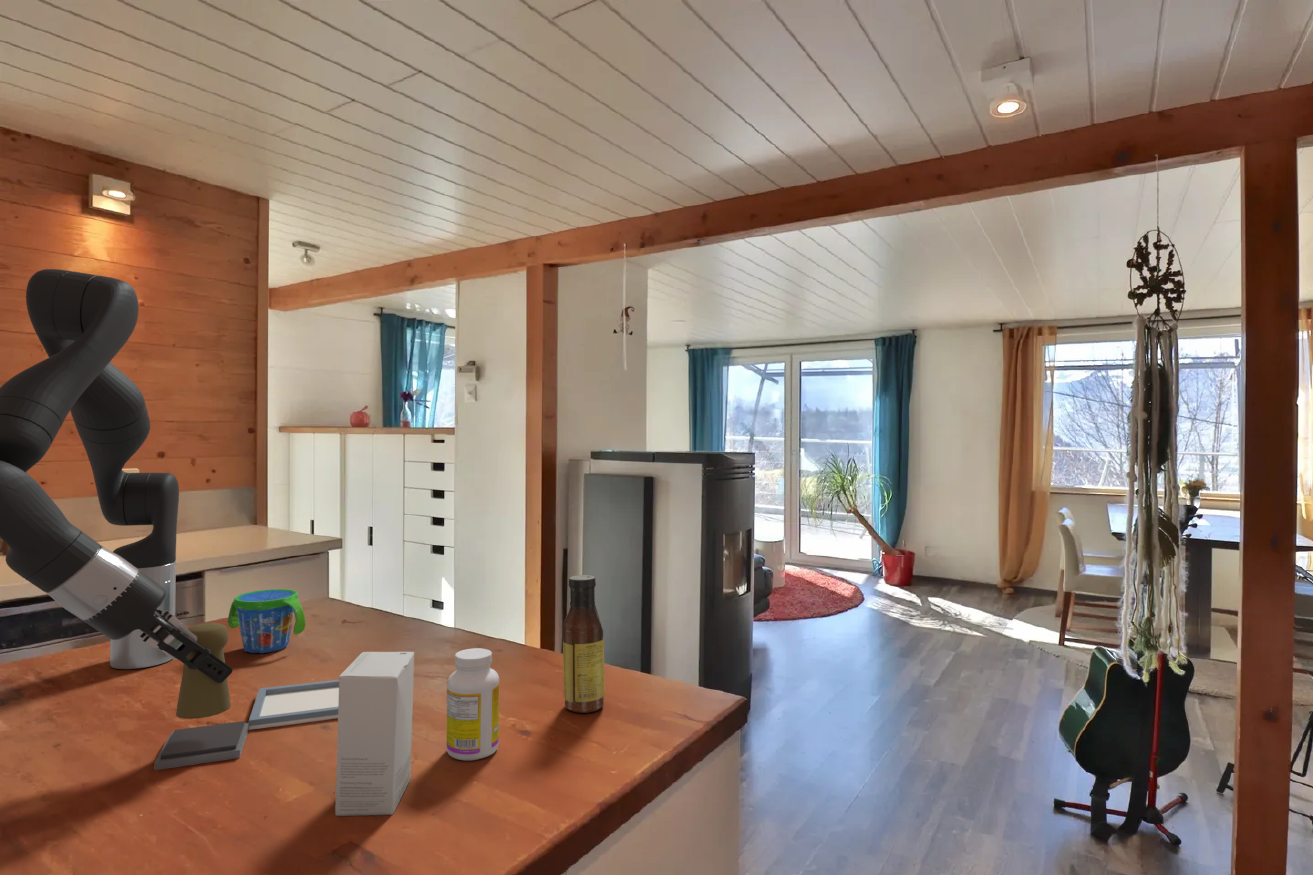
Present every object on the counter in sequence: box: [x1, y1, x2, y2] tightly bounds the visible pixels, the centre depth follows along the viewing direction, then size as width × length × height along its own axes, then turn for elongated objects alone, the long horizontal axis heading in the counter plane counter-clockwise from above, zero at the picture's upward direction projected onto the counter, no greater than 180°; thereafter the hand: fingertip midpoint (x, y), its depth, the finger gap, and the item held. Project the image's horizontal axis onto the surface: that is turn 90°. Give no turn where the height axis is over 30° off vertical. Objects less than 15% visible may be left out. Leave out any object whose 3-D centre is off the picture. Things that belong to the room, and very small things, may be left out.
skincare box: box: [334, 651, 415, 817], centre depth 81 cm, size 8×7×16 cm
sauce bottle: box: [562, 574, 606, 714], centre depth 108 cm, size 7×6×20 cm
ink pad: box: [154, 720, 250, 771], centre depth 92 cm, size 9×9×2 cm
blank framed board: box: [248, 679, 339, 731], centre depth 107 cm, size 13×13×1 cm
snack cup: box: [227, 588, 306, 654], centre depth 134 cm, size 16×10×10 cm
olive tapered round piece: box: [175, 622, 232, 720], centre depth 92 cm, size 6×6×11 cm
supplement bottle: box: [446, 647, 500, 762], centre depth 93 cm, size 7×7×13 cm
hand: (221, 671), depth 93 cm, fingers closed on olive tapered round piece, 4 cm apart
